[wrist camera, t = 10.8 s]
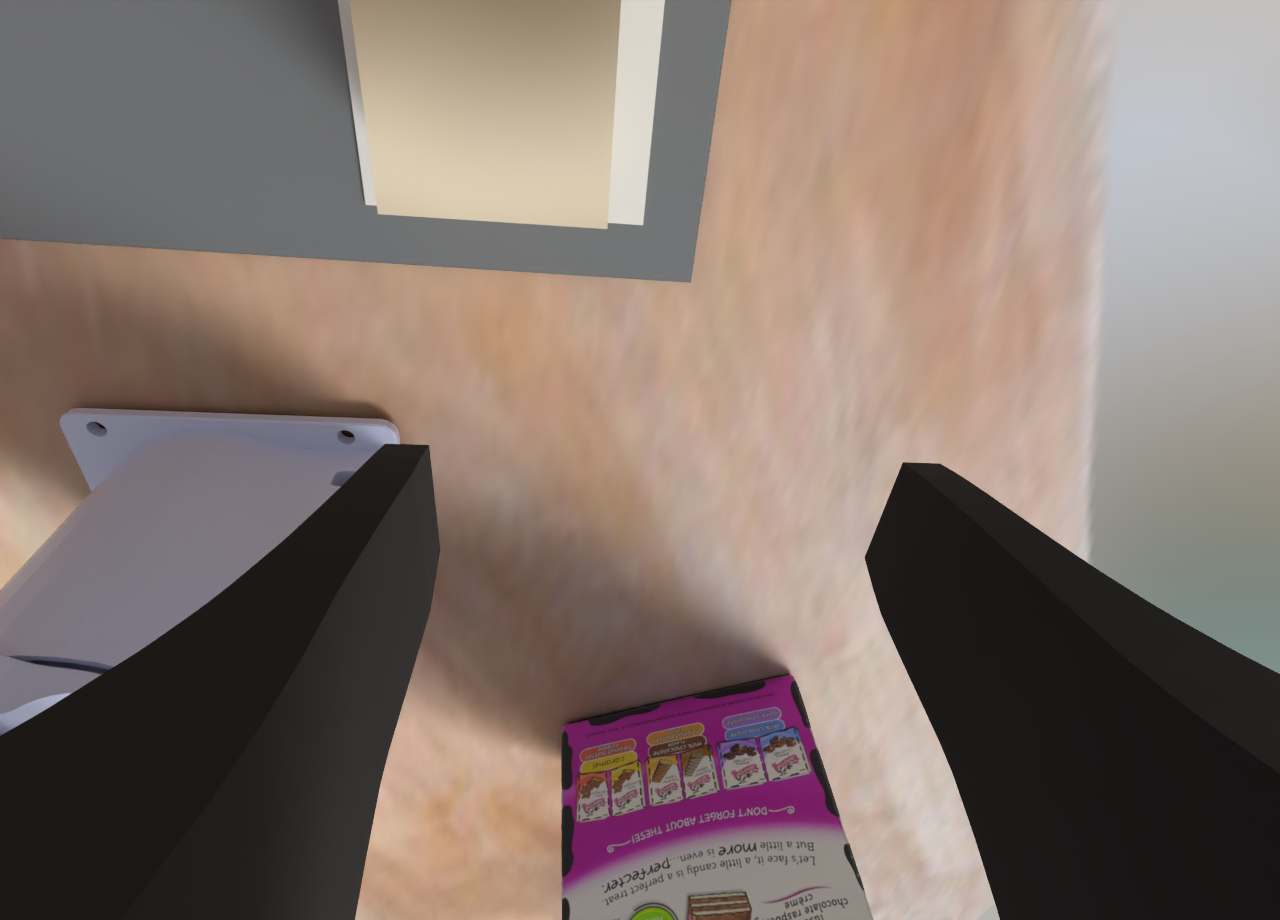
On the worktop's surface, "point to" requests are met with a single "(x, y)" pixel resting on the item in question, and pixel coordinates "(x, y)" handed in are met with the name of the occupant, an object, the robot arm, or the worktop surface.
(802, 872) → the candy bar box
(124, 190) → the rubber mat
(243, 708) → the robot arm
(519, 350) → the worktop surface
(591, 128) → the green and cream block
